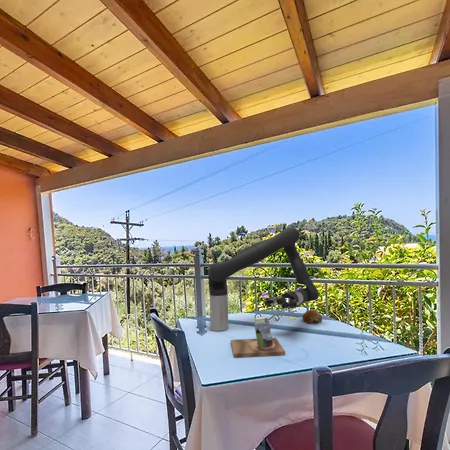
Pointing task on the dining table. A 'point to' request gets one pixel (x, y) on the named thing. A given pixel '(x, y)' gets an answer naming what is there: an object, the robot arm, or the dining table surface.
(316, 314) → the bread roll
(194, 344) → the dining table surface
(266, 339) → the beverage can
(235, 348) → the serving board
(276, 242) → the robot arm
